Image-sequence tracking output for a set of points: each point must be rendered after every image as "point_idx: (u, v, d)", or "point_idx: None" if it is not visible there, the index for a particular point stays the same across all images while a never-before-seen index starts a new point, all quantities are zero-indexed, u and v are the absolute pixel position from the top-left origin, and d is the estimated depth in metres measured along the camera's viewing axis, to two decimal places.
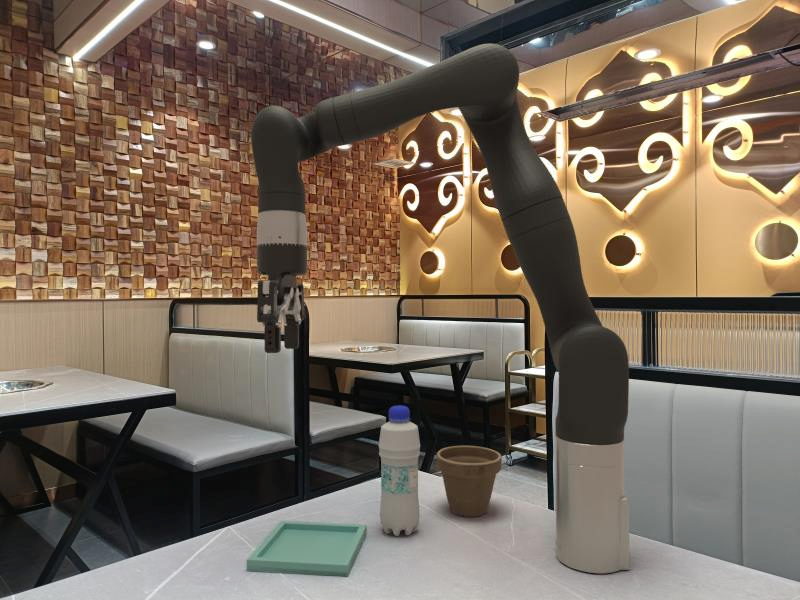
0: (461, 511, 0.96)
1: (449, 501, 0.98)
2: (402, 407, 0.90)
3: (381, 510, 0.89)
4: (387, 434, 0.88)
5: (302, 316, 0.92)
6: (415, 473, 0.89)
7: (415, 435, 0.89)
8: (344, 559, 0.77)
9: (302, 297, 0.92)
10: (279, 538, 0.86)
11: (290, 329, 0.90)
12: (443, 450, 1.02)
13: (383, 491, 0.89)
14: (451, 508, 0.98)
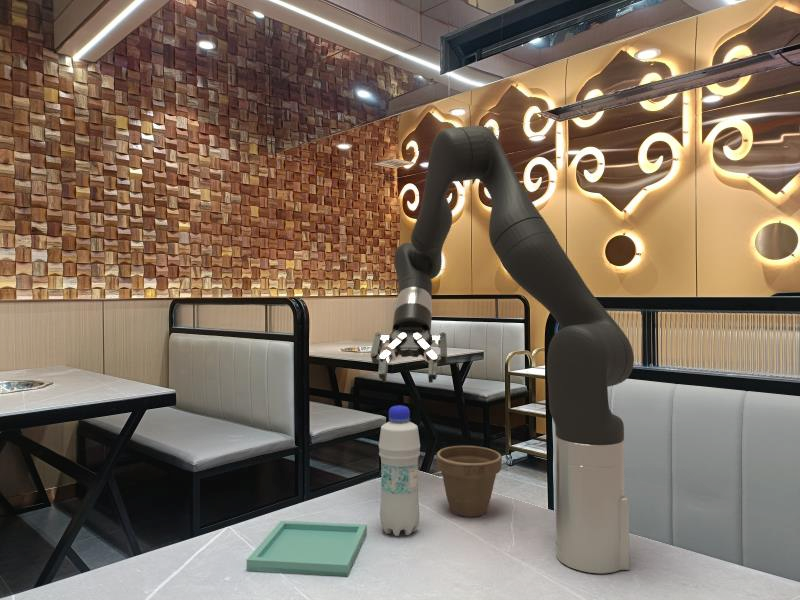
0: (461, 511, 0.96)
1: (449, 501, 0.98)
2: (402, 407, 0.90)
3: (381, 510, 0.89)
4: (387, 434, 0.88)
5: (441, 353, 1.04)
6: (415, 473, 0.89)
7: (415, 435, 0.89)
8: (344, 559, 0.77)
9: (443, 341, 1.06)
10: (279, 538, 0.86)
11: None
12: (443, 450, 1.02)
13: (383, 491, 0.89)
14: (451, 508, 0.98)
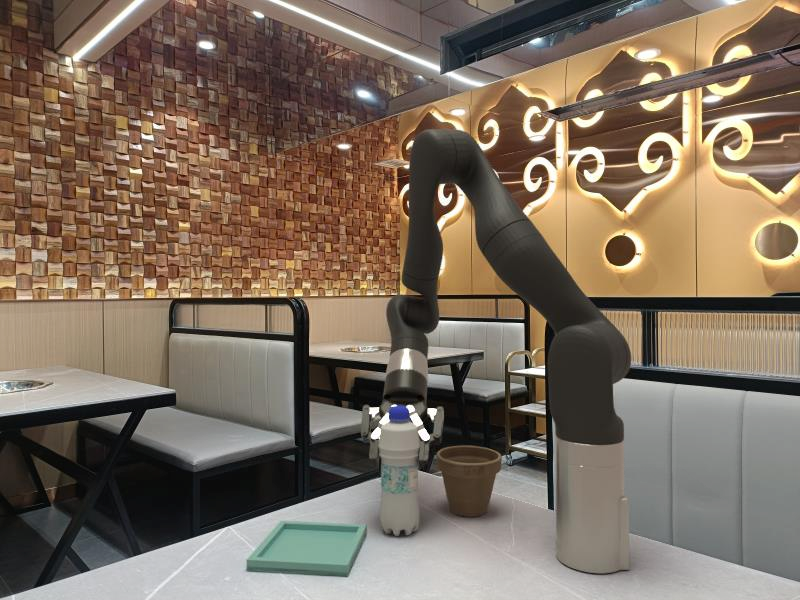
0: (461, 511, 0.96)
1: (449, 501, 0.98)
2: (402, 407, 0.90)
3: (381, 510, 0.89)
4: (387, 434, 0.88)
5: (434, 433, 0.91)
6: (415, 473, 0.89)
7: (415, 435, 0.89)
8: (344, 559, 0.77)
9: (439, 418, 0.93)
10: (279, 538, 0.86)
11: None
12: (443, 450, 1.02)
13: (383, 491, 0.89)
14: (451, 508, 0.98)
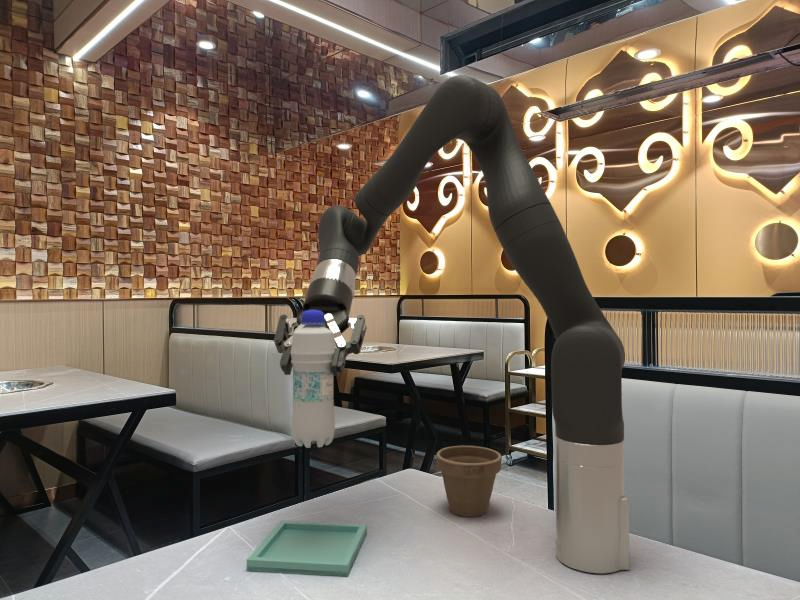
0: (461, 511, 0.96)
1: (449, 501, 0.98)
2: (315, 310, 0.83)
3: (292, 421, 0.83)
4: (297, 338, 0.82)
5: (351, 340, 0.84)
6: (329, 381, 0.82)
7: (328, 340, 0.82)
8: (344, 559, 0.77)
9: (359, 325, 0.86)
10: (279, 538, 0.86)
11: None
12: (443, 450, 1.02)
13: (294, 400, 0.82)
14: (451, 508, 0.98)
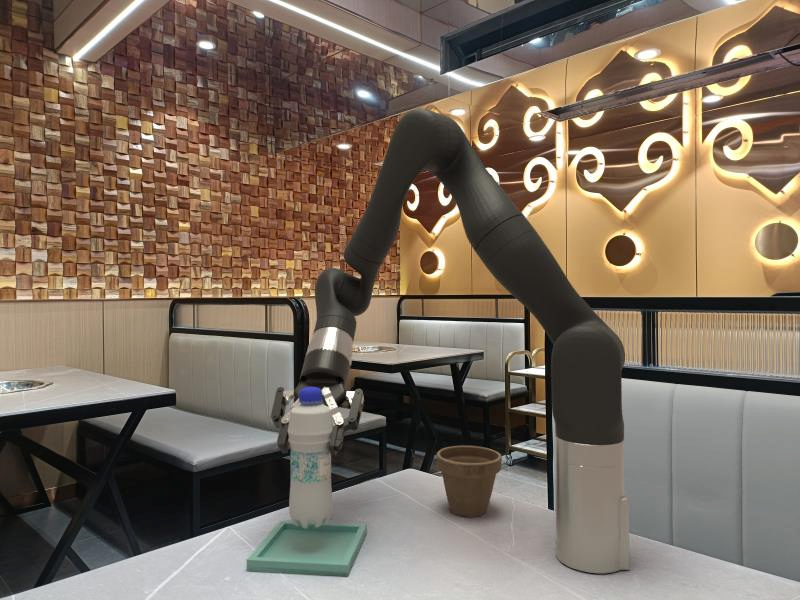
0: (461, 511, 0.96)
1: (449, 501, 0.98)
2: (313, 388, 0.82)
3: (289, 500, 0.82)
4: (295, 418, 0.81)
5: (349, 417, 0.84)
6: (326, 460, 0.82)
7: (326, 419, 0.82)
8: (344, 559, 0.77)
9: (356, 401, 0.86)
10: (279, 538, 0.86)
11: None
12: (443, 450, 1.02)
13: (292, 479, 0.82)
14: (451, 508, 0.98)
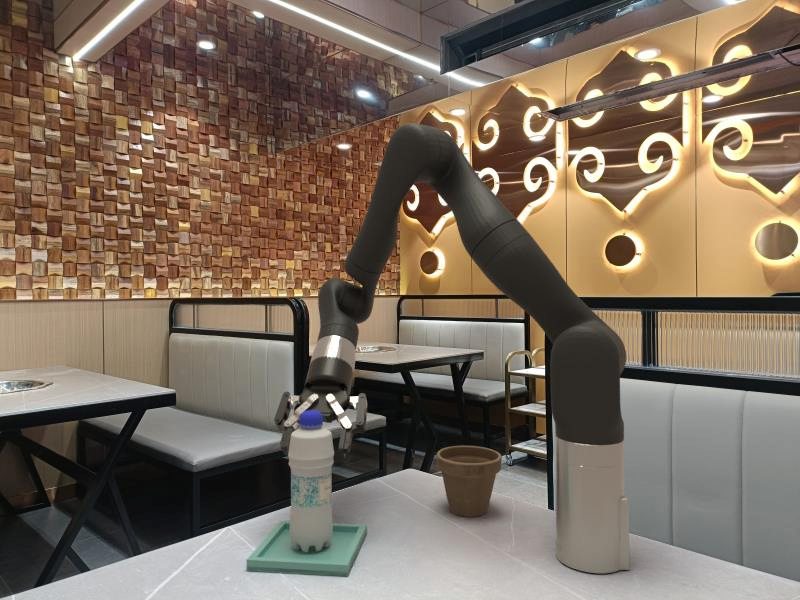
0: (461, 511, 0.96)
1: (449, 501, 0.98)
2: (313, 412, 0.82)
3: (290, 524, 0.82)
4: (295, 442, 0.81)
5: (357, 421, 0.87)
6: (327, 484, 0.82)
7: (327, 443, 0.81)
8: (344, 559, 0.77)
9: (362, 405, 0.89)
10: (279, 538, 0.86)
11: None
12: (443, 450, 1.02)
13: (292, 503, 0.82)
14: (451, 508, 0.98)
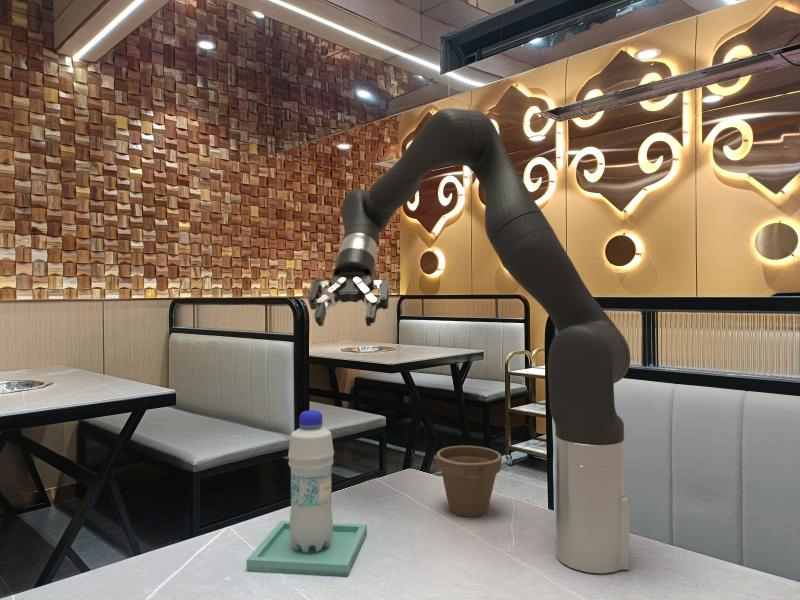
0: (461, 511, 0.96)
1: (449, 501, 0.98)
2: (313, 412, 0.83)
3: (290, 524, 0.82)
4: (295, 442, 0.81)
5: (381, 297, 0.99)
6: (327, 484, 0.82)
7: (326, 443, 0.82)
8: (344, 559, 0.77)
9: (384, 285, 1.01)
10: (279, 538, 0.86)
11: None
12: (443, 450, 1.02)
13: (292, 503, 0.82)
14: (451, 508, 0.98)
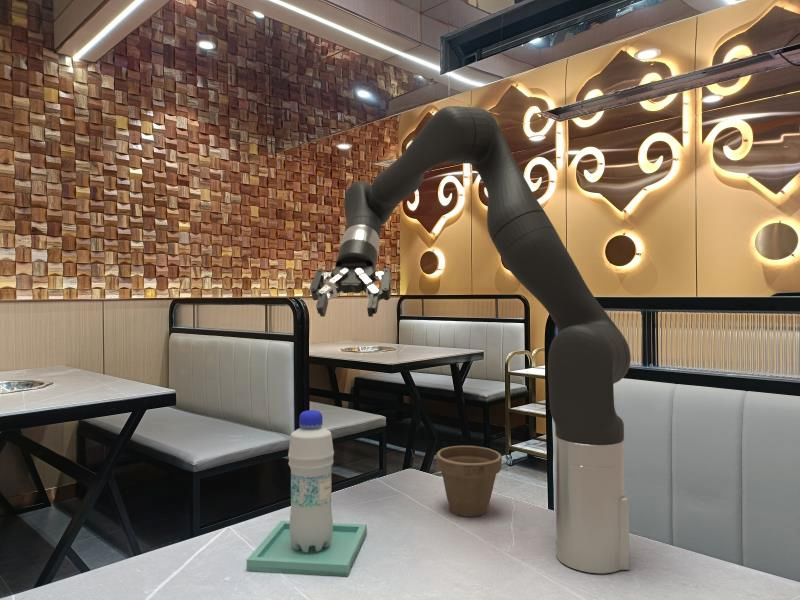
0: (461, 511, 0.96)
1: (449, 501, 0.98)
2: (313, 412, 0.83)
3: (290, 524, 0.82)
4: (295, 442, 0.81)
5: (383, 288, 1.00)
6: (327, 484, 0.82)
7: (326, 443, 0.82)
8: (344, 559, 0.77)
9: (386, 276, 1.02)
10: (279, 538, 0.86)
11: None
12: (443, 450, 1.02)
13: (292, 503, 0.82)
14: (451, 508, 0.98)
